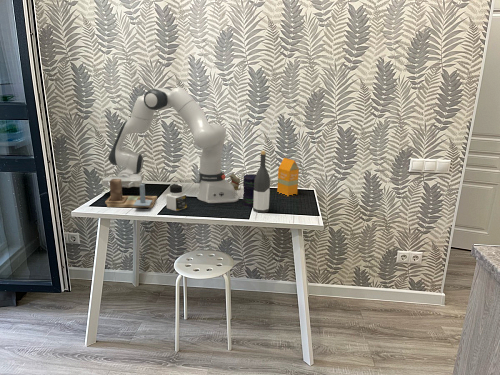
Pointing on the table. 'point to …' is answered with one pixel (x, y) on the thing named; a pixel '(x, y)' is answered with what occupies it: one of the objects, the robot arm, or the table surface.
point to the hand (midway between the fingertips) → (118, 186)
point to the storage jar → (248, 190)
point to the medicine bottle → (176, 198)
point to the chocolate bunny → (234, 181)
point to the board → (130, 201)
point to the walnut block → (116, 190)
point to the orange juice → (288, 177)
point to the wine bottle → (261, 187)
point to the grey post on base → (142, 198)
